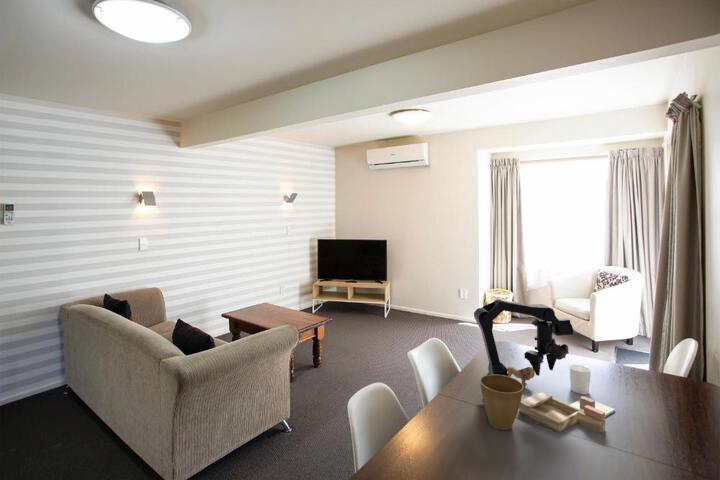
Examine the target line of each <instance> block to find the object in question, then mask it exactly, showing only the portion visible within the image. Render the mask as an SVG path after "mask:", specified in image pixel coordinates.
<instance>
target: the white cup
mask: <svg viewBox="0 0 720 480" xmlns="http://www.w3.org/2000/svg"><path fill="white" fill-rule="evenodd" d="M591 371H592V370H591V369H590V367H587V366H585V365H580V364H572V365H569V382H570V390H571V391H573V392H574V393H576V394H581V395H586V394H587V395H588V394H589V393H590V386H591V385H590V383H591Z"/></svg>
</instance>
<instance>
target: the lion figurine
mask: <svg viewBox="0 0 720 480" xmlns="http://www.w3.org/2000/svg"><path fill="white" fill-rule="evenodd" d="M506 368H507V374H508V376H509V377H512V375H513V376H514V377H515V378H517V379H520V380H521V383H522V385H523V388H526V385H527V382H526V381H530V380H531V379H533V378H534V377H535V376H536V373H535V371H534V369H533V367H532V366H527V367H525V368H521V369H517V368H515V367H513V366H508V367H506Z"/></svg>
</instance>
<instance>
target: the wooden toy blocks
mask: <svg viewBox="0 0 720 480" xmlns="http://www.w3.org/2000/svg"><path fill="white" fill-rule="evenodd" d="M518 412H519V413H520V414H522V415H524V416H526V417H527V418H529V419H532V420H533V421H535V422H538V423H539V424H541V425H543V426H545V427H547V428H549V429H552V430H554V431H555V432H557V433H561V432H562V431H564V430H566V429H568V428H570V427H572V426H573V425H576V424H581V425H582V426H584V427H587V428H589V429H591V430H593V431H595V432H597V433H600V434H603V433H604V432H605V431H606V418H605V419H604V420H602V421H601V420H599V419H596V418H594V417H592V416H590V415H587V414H585V413H584V410H579V409H577V408H575V407H572V406H570V404H568V403H565V402H563V401H560V400H558V399H556V398H554V397H553V395H551V394H549V393H547V392H545V391H544V392H543V391H540V392H538V393H536V394H533V395H530V396H528V397H526V398H524V399H521V403H520V406H519V410H518Z"/></svg>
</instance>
